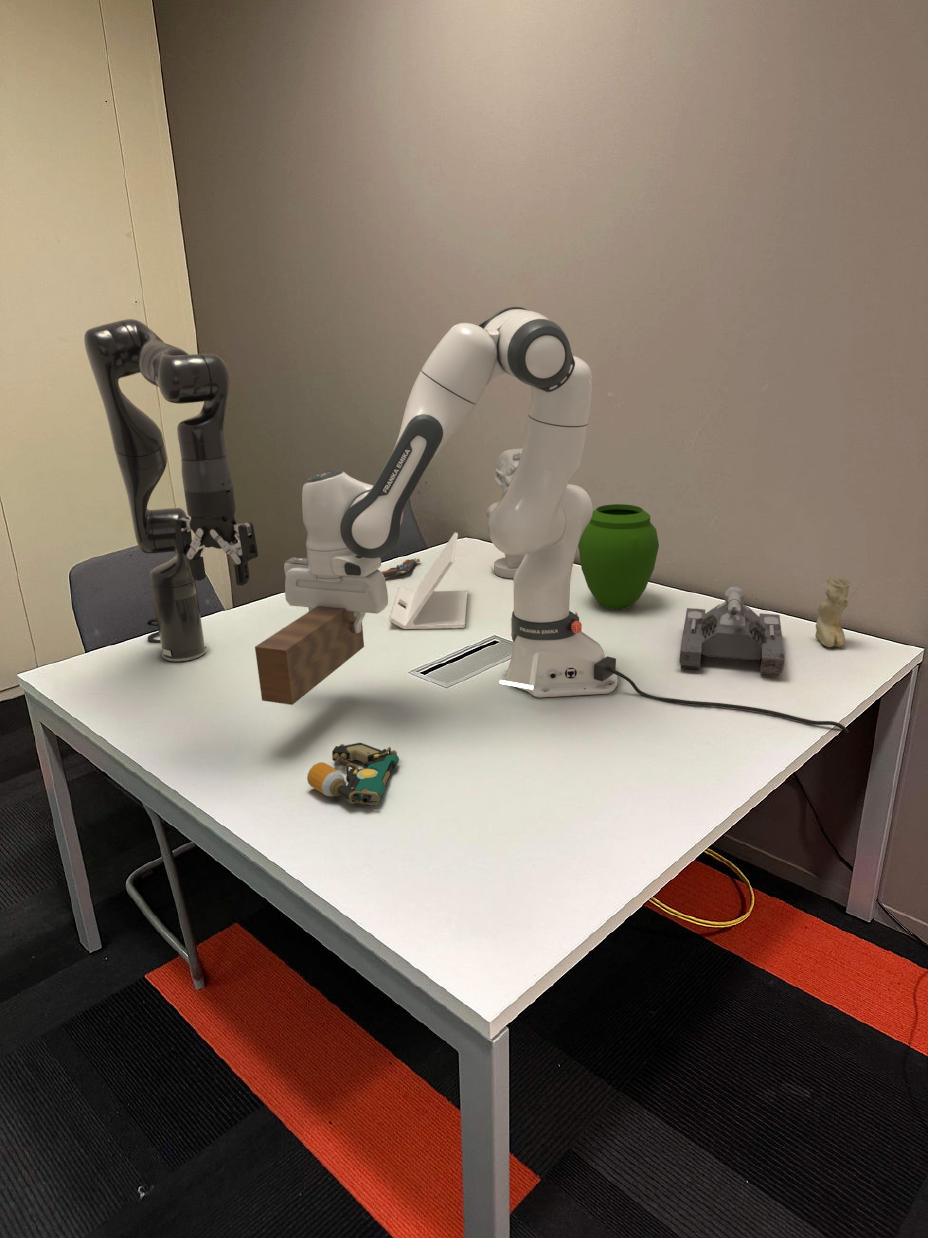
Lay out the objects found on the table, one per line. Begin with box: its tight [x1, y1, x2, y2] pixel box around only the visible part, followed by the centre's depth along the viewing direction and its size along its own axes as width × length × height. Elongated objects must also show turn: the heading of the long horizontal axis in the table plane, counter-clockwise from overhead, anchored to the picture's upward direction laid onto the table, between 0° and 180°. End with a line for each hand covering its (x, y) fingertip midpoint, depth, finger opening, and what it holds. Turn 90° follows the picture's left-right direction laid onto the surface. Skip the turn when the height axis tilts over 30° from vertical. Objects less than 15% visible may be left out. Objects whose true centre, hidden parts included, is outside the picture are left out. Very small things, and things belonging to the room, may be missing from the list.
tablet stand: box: [388, 531, 468, 630], centre depth 211 cm, size 18×25×17 cm
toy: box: [678, 586, 785, 676], centre depth 181 cm, size 25×20×15 cm
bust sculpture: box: [485, 447, 525, 579], centre depth 231 cm, size 16×24×35 cm
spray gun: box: [306, 742, 400, 806], centre depth 139 cm, size 4×17×15 cm
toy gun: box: [381, 558, 421, 579], centre depth 245 cm, size 3×19×10 cm
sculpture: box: [814, 576, 852, 648], centre depth 185 cm, size 6×7×15 cm
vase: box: [578, 503, 660, 610], centre depth 210 cm, size 20×20×24 cm
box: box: [254, 606, 365, 706], centre depth 153 cm, size 26×6×10 cm, turn 160°
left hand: (221, 581), depth 142 cm, fingers open, 8 cm apart
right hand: (339, 630), depth 162 cm, fingers closed on box, 6 cm apart
